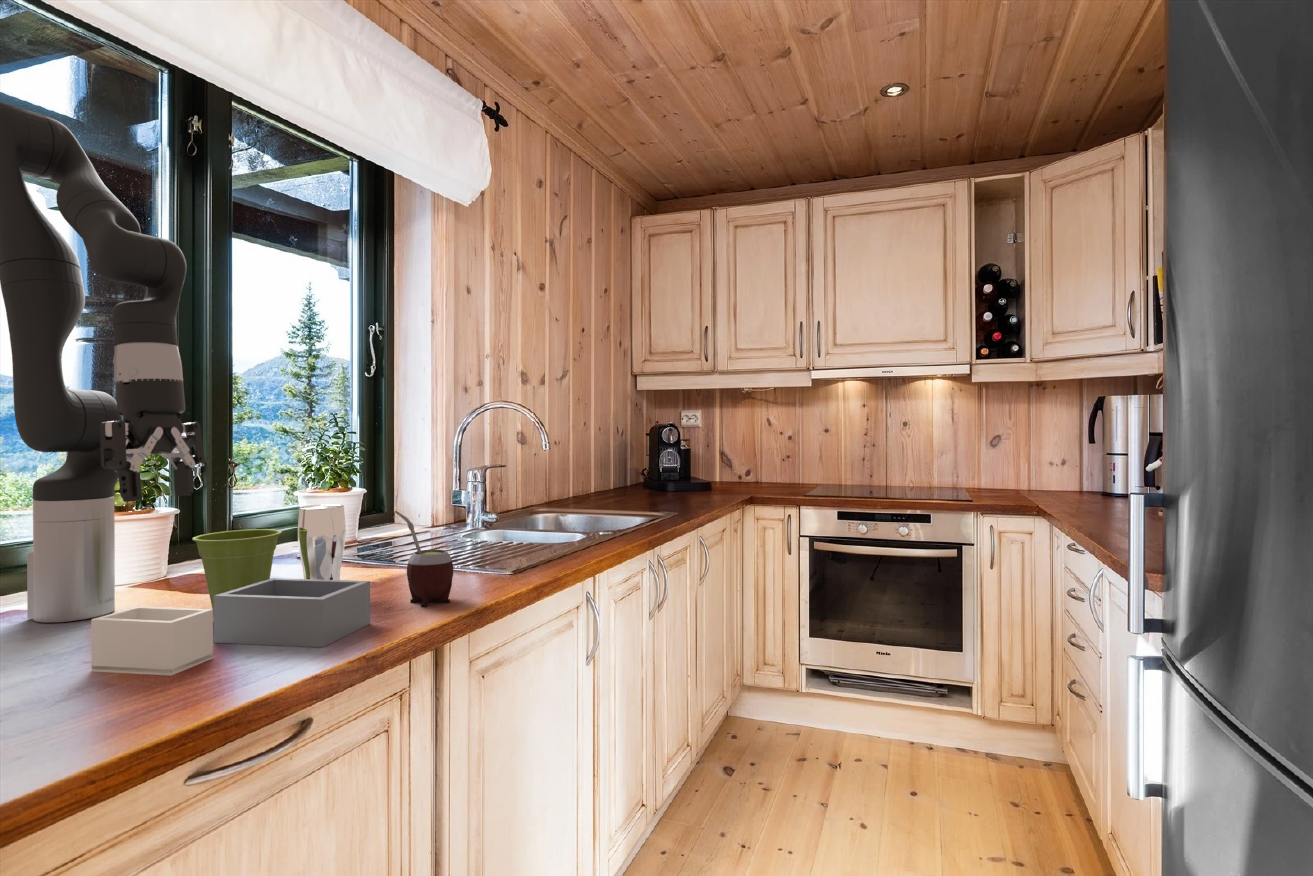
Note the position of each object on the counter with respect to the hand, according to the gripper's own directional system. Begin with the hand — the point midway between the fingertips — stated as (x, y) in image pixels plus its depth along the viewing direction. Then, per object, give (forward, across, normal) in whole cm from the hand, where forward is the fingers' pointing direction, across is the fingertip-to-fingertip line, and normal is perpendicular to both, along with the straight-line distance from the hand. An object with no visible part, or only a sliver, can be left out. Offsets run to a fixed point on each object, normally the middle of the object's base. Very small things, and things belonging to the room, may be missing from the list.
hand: (159, 498), depth 95 cm
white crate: (+19, +13, +10) cm, 25 cm away
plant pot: (+18, -13, 0) cm, 22 cm away
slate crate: (+20, -1, +18) cm, 26 cm away
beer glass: (+19, -19, +10) cm, 29 cm away
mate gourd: (+21, -19, +28) cm, 39 cm away
